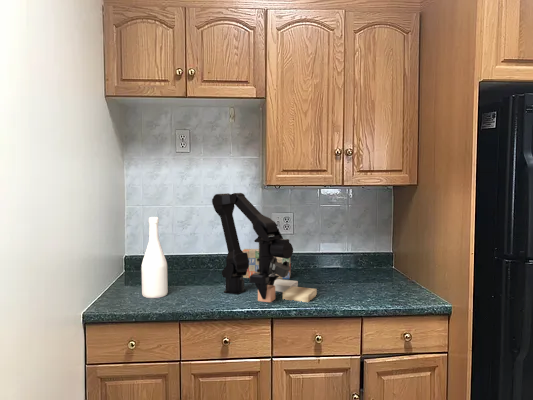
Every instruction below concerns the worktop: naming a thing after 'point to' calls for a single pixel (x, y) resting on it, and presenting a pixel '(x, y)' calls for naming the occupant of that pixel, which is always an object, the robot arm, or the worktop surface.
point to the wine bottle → (154, 265)
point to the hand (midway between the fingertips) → (266, 297)
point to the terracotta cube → (268, 294)
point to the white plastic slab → (284, 284)
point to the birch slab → (299, 294)
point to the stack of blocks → (254, 264)
